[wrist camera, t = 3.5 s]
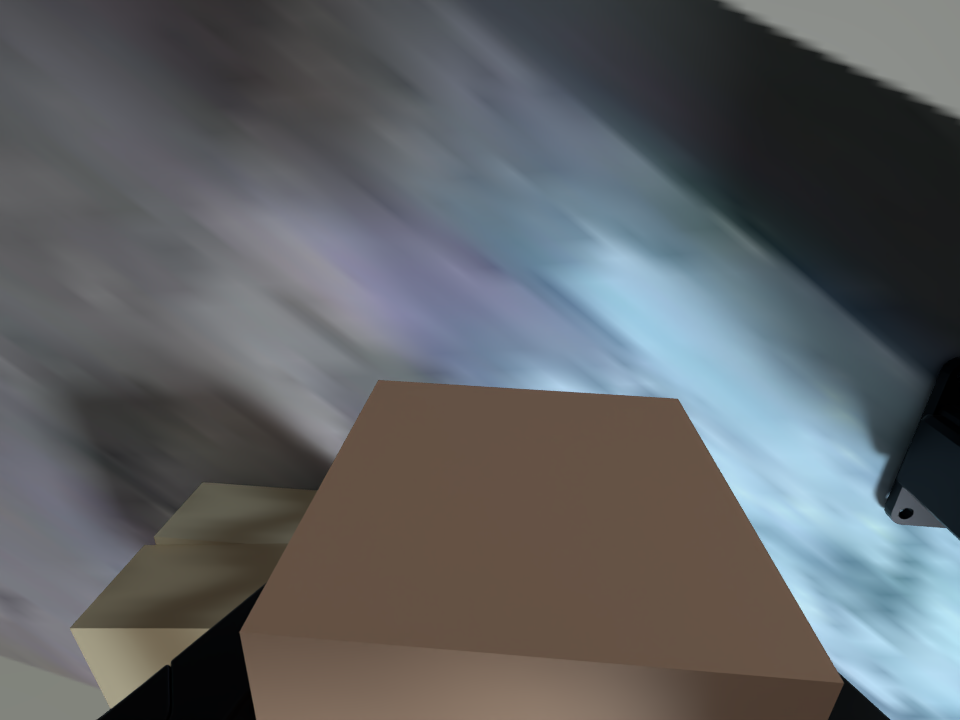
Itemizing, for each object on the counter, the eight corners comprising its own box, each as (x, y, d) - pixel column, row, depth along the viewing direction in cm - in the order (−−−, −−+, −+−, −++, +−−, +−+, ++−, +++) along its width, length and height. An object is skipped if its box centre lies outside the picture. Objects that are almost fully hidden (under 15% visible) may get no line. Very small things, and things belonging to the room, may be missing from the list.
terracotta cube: (678, 398, 9) (843, 683, 4) (632, 619, 11) (715, 972, 6) (378, 380, 9) (239, 631, 5) (387, 599, 11) (296, 927, 7)
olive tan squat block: (374, 490, 22) (349, 551, 19) (380, 616, 25) (359, 689, 22) (206, 478, 22) (153, 536, 19) (231, 604, 25) (188, 673, 22)
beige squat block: (335, 542, 19) (296, 628, 16) (366, 682, 21) (339, 780, 18) (144, 545, 19) (69, 628, 16) (198, 680, 22) (143, 774, 19)
